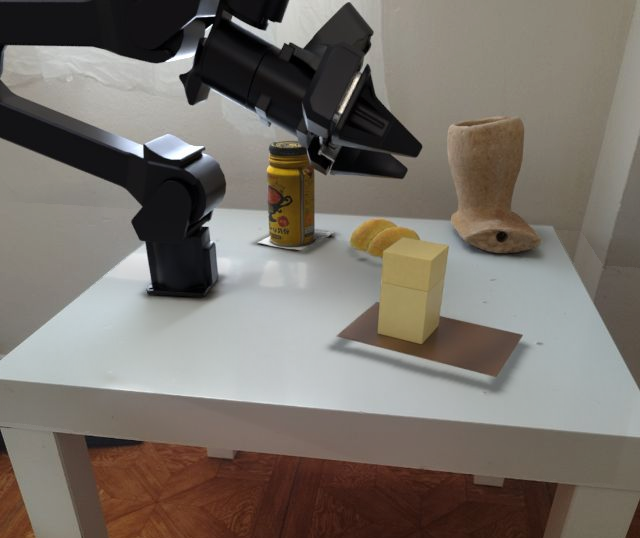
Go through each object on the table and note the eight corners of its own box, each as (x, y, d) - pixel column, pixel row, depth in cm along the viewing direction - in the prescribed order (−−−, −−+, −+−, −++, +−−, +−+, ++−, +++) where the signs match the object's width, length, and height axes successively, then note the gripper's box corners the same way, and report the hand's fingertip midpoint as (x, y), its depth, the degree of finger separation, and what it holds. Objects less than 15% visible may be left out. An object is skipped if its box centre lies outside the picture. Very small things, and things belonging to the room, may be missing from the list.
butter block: (377, 333, 57) (380, 282, 54) (395, 316, 60) (400, 266, 57) (421, 344, 55) (427, 292, 52) (438, 326, 58) (445, 275, 55)
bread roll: (389, 271, 73) (392, 238, 71) (339, 251, 79) (340, 219, 76) (435, 256, 78) (438, 224, 75) (384, 238, 83) (386, 208, 81)
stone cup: (431, 221, 90) (444, 106, 81) (513, 222, 90) (535, 108, 81) (445, 256, 77) (462, 126, 69) (540, 258, 77) (569, 128, 69)
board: (335, 347, 57) (335, 335, 56) (375, 312, 64) (376, 301, 63) (494, 389, 51) (496, 376, 51) (520, 345, 58) (523, 334, 57)
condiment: (256, 243, 81) (251, 145, 74) (288, 226, 87) (286, 134, 80) (304, 253, 78) (304, 151, 71) (334, 234, 84) (336, 139, 77)
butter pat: (380, 282, 54) (383, 251, 52) (400, 266, 57) (402, 236, 56) (427, 292, 52) (431, 260, 51) (445, 275, 55) (449, 245, 54)
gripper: (298, -74, 45) (482, 35, 46) (305, 35, 63) (437, 111, 64) (231, 73, 47) (410, 174, 48) (257, 138, 65) (386, 210, 66)
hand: (412, 164), depth 57 cm, fingers open, 9 cm apart
